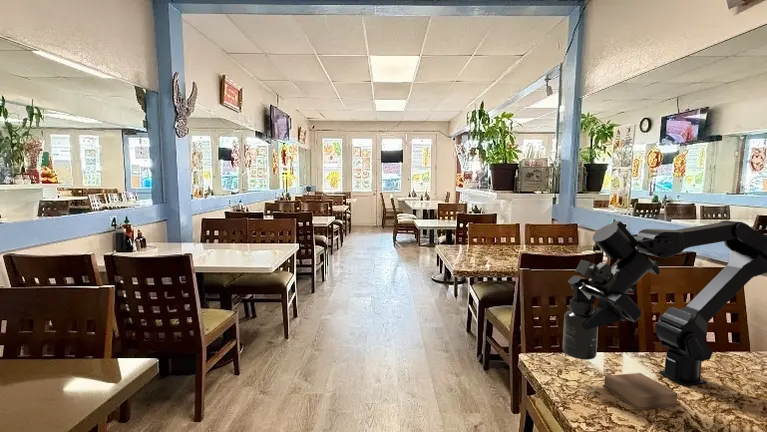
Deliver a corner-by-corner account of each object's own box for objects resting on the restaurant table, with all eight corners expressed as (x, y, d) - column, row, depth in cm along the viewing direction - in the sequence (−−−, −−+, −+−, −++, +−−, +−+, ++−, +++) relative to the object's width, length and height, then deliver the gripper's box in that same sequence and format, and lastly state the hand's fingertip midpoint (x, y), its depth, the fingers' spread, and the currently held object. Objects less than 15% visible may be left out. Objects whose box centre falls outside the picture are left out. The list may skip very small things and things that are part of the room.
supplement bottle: (601, 362, 85) (603, 306, 84) (566, 359, 86) (569, 304, 85) (591, 349, 92) (593, 298, 91) (559, 346, 93) (561, 296, 92)
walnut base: (639, 383, 89) (640, 372, 88) (678, 405, 79) (679, 393, 79) (602, 386, 87) (603, 375, 87) (638, 410, 78) (638, 397, 77)
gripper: (577, 242, 97) (531, 287, 97) (630, 255, 78) (574, 310, 78) (606, 274, 98) (561, 318, 98) (665, 294, 79) (610, 349, 79)
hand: (574, 322), depth 88 cm, fingers closed on supplement bottle, 7 cm apart
